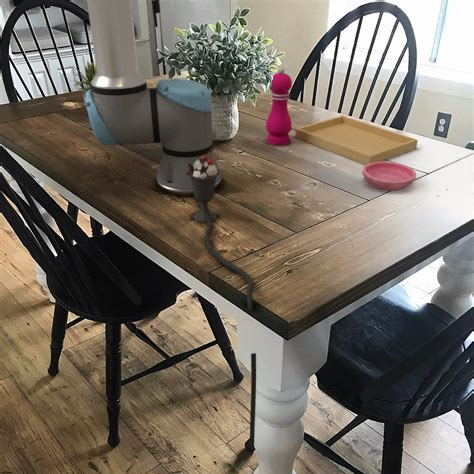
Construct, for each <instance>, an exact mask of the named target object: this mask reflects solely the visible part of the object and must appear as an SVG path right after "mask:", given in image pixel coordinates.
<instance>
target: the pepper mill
mask: <svg viewBox="0 0 474 474" xmlns="http://www.w3.org/2000/svg"><path fill="white" fill-rule="evenodd" d="M285 71H286V70H285V68H284V67H283V66H280V67H278V68H277V73H274V74H273V75H272V76H273V80H272V86H271V89H270V90H271V92H270V98H271V101H272V103H271V110H270V113H269V115H268V116H267V119H266V123H265V130H266V132H267V133H268V134H267V135H266V142H267V143H268V144H269V145H272V146H286V145H288V144H289V143H290V135H289V134H290V132H291V131H292V129H293V125H292V119H291V116H290V113H289V109H288V100H289V99H290V95H291V93H290V92H289V91H290V90H291V89H292V87H293V81H292V78H291V76H290V75H288V74H287V73H285Z"/></svg>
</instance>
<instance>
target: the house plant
mask: <svg viewBox="0 0 474 474" xmlns="http://www.w3.org/2000/svg"><path fill="white" fill-rule="evenodd" d="M69 67H71V68H74V70H75V71H77V72H76V73H75V72H74V71H72V75H73V76H77V77H78V78H79V79H81V81H78V80H71V82H75V84H74V85H73V86H72V87H73V88H74V87H76V86H79V89H78V92H80V91H82V93H83V95H82V96H83V97H82V98H83V100H84V104H85V107H86V108H87V104H86V93H84V92H87V91H89V90H90V89H91V90H92V87H91V81H92V80H93V79H94V77H95V76H96V74H97V70H96V63H95V61H93V62H91V63H90V62H89V61H88V60H87V61H86V65H85V66H84V70H85V76H84V75H83V73H82V72H81V71H80V70H79V69H78V68H77V67H75V66H71V65H69Z"/></svg>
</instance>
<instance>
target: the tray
mask: <svg viewBox="0 0 474 474" xmlns="http://www.w3.org/2000/svg"><path fill="white" fill-rule="evenodd" d="M294 137H295V138H296V139H299V140H302V141H304V142H306V143H309V144H312V145H314V146H316V147H320V148H322V149H325V150H327V151H330V152H333V153H335V154H337V155H340V156H343V157H345V158H348V159H351V160H353V161H355V162H358V163H361V164H363V165H365V166H366V165H367V164H370V163H374V162H385V161H386V160H389V159H391V158H395V157H397V156H400V155H403V154H405V153H408V152H411V151H414V150H417V147H418V142H419V139H416V138H414V137H410V136H408V135H405V134H402V133H398V132H395V131H392V130H388V129H385V128H382V127H379V126H376V125H373V124H370V123H367V122H364V121H360V120H358V119H356V118H355V119H354V118H351V117H349V116H346V115H339V116H336V117H332V118H328V119H325V120H321V121H318V122H315V123H314V122H313V123H311V124H307V125H303V126H300V127H297V128H295V130H294Z"/></svg>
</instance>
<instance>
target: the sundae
mask: <svg viewBox="0 0 474 474" xmlns="http://www.w3.org/2000/svg"><path fill="white" fill-rule="evenodd" d="M210 150H213V151H214V150H215V148H214V147H213V148H210ZM211 152H212V151H211ZM211 152H210V154H211ZM208 153H209V152H208ZM208 153H207V154H208ZM207 154H206V155H207ZM206 155H203V156H202V158H200V159H198V160H197V161H196V162H195V163H194V167H193V166H192V164H191V163H187V164H188V166H189V168H190V169H189V170H188V172H187V173H186V175H188V176H190V178H191V181H192V186H193V192H194V195H195V196H194V198H195V199H196V200H197V202H198V201H200V202H201V203H202V210H200V211H198V212H196V213H194V215H193V219H194V221H196V222H199V223H207V220H206V217H205V216H206V215H207V214H208V215H209V216H210V218H211V222H213V221H215V220H216V219H217V216H218V215H217V214H216V213H215V212H213V211H209V207H208V203H209V202H210V201H211V200H212V199H213V198H214V196H215V191H216V190H215V182H216V177H217V176H218V175H220V173H221V171H220V172H219V170H220V169H219V170H218V169H217V168H216V167H215V165H214V164H213V160H212V159H211V158H210V159H207V156H206ZM209 157H210V156H209Z"/></svg>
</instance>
